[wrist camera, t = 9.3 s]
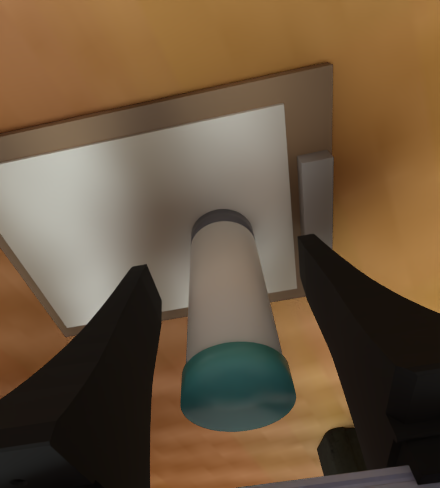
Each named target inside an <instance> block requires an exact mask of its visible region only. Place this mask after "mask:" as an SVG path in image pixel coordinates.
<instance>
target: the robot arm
mask: <svg viewBox="0 0 440 488" xmlns="http://www.w3.org/2000/svg"><path fill="white" fill-rule="evenodd" d="M297 238H298V254H299V270H300V278H301V282H302V285H303V288H304V292H305V295H306V298H307V301H308V303H309V305H310V307H311V310H312V312H313V314H314V316H315V319H316V321H317V323H318V325H319V328H320V330H321V332H322V334H323V336H324V339H325V341H326V343H327V345H328V348H329V350H330V353H331V355H332V358H333V361H334V364H335V367H336V370H337V373H338V376H339V379H340V382H341V385H342V388H343V391H344V394H345V398H346V401H347V404H348V407H349V410H350V414H351V417H352V420H353V424H354V427H355V430H356V433H357V437H358V440H359V444H360V447H361V451H362V454H363V458H364V461H365V464H366V468H367V471H360V472H352V473H345V474H337V475H329V476H322V477H314V478H307V479H299V480H291V481H284V482H276V483H268V484H261V485H253V486H246V487H238V488H440V313H437V312H435V311H432V310H430V309H428V308H425V307H423V306H421V305H419V304H417V303H415V302H413V301H411V300H408V299H406V298H404V297H402V296H400V295H398V294H397V293H395V292H393V291H391V290H389V289H388V288H386V287H384V286H382V285H381V284H379V283H377V282H376V281H374V280H372V279H371V278H369V277H368V276H366V275H365V274H364V273H362V272H361V271H359V270H358V269H356V268H355V267H354V266H352V265H351V264H350V263H348V262H347V261H346V260H345V259H343V258H342V257H341V256H339V255H338V254H337V253H336V252H335V251H333V250H332V249H331V248H330V247H329V246H328V245H326V244H325V243H324V242H323V241H322V240H321V239H320V238H319V237H317V236H316V235H315V234H308V235H303V236H297ZM161 320H162V300H161V297H160V295H159V292H158V290H157V288H156V285H155V283H154V280H153V278H152V276H151V273H150V271H149V268H148V266H147V264H144V265H138V266H133V267H131V268H130V270H129V271H128V272H127V274H126V275H125V276H124V278H123V279H122V280H121V282H120V283H119V285H118V286H117V287H116V289H115V290H114V291H113V293H112V294H111V295H110V297H109V298H108V299H107V301H106V302H105V303H104V304H103V306H102V307H101V308H100V309H99V310H98V312H97V313H96V314H95V315H94V316H93V318H92V319H91V320H90V321H89V322H88V324H87V325H86V326H85V327H84V328H83V329H82V330H81V331H80V332H79V333H78V334H77V335H76V336H75V337H74V338H73V339H72V341H71V342H70V343H69V344H68V345H67V346H65V347H64V348H63V349H62V350H61V351H60V352H59V353H58V354H57V355H56V356H54V357H53V358H52V359H51V360H50V361H49V362H48V363H47V364H45V365H44V366H43V367H42V368H41V369H40V370H38V371H37V372H36V373H35V374H34V375H32V376H31V377H30V378H29V379H27V380H26V381H25V382H23V383H22V384H21V385H19V386H18V387H17V388H15V389H14V390H13V391H11V392H10V393H9V394H7V395H6V396H4V397H3V398H2V399H0V488H150V422H151V398H152V383H153V374H154V368H155V362H156V355H157V349H158V343H159V336H160V330H161Z"/></svg>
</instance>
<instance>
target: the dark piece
mask: <svg viewBox="0 0 440 488" xmlns="http://www.w3.org/2000/svg"><path fill="white" fill-rule="evenodd" d="M317 451H318V455H319V459H320V463H321V466H322V470H323V474H324V476H329V475H337V474H345V473H352V472H360V471H367V468H366V464H365V461H364V458H363V454H362V451H361V447H360V444H359V440H358V437H357V433H356V430H355V428H349V429H344V428H335V429H332V430H330V431H328V432H327V433H326V434H325V436H324V438H323V440H322V442H321V443H320V445H319V447H318V449H317Z"/></svg>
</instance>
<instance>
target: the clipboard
mask: <svg viewBox="0 0 440 488" xmlns="http://www.w3.org/2000/svg"><path fill="white" fill-rule="evenodd" d="M332 104H333V64H331V63H328V62H326V63H322V64H317V65H313V66H308V67H303V68H299V69H294V70H290V71H285V72H281V73H276V74H271V75H267V76H262V77H258V78H253V79H248V80H244V81H239V82H235V83H230V84H226V85H221V86H216V87H212V88H207V89H203V90H198V91H193V92H189V93H184V94H180V95H175V96H171V97H166V98H161V99H157V100H152V101H148V102H143V103H139V104H134V105H129V106H125V107H120V108H116V109H111V110H106V111H102V112H97V113H93V114H88V115H84V116H79V117H74V118H70V119H65V120H61V121H56V122H52V123H47V124H42V125H38V126H33V127H29V128H24V129H19V130H15V131H10V132H6V133H1V134H0V248H1V249H2V251H3V252H4V253H5V255H6V256H7V258H8V259H9V260H10V262H11V263H12V264H13V266H14V267H15V269H16V270H17V271H18V273H19V274H20V275H21V277H22V278H23V279H24V281H25V282H26V284H27V285H28V286H29V288H30V289H31V290H32V292H33V293H34V295H35V296H36V297H37V299H38V300H39V301H40V303H41V304H42V306H43V307H44V308H45V310H46V311H47V312H48V314H49V315H50V316H51V318H52V319H53V321H54V322H55V323H56V325H57V326H58V327H59V329H60V330H61V332H62V333H63V334H64V336H65V337H69V336H75V335H77V334H78V333H79V332H80V331H81V330H82V329H83V328H84V327H85V326H86V325H87V324H88V322H89V321H90V320H91V319H92V318H93V316H94V315H95V314H96V313H97V312H98V310H99V309H100V308H101V307H102V306H103V304H104V303H105V302H106V301H107V299H108V298H109V297H110V295H111V294H112V293H113V291H114V290H115V289H116V287H117V286H118V285H119V283H120V282H121V280H122V279H123V278H124V276H125V275H126V274H127V272H128V271H129V270H130V268H131V267H133V266H138V265H144V264H147V266H148V268H149V271H150V273H151V276H152V278H153V280H154V283H155V285H156V288H157V290H158V292H159V295H160V297H161V300H162V320H161V321H163V320H169V319H175V318H181V317H187V316H188V305H189V280H190V255H191V233H192V228H193V226H194V224H195V222H196V221H197V220H198V219H199V218H200V217H201V216H202V215H204V214H206V213H207V212H210V211H213V210H217V209H229V210H234V211H236V212H239V213H240V214H242V215H243V216H245V217H246V218H247V219H248V221H249V222H250V224H251V226H252V230H253V234H254V238H255V242H256V246H257V250H258V255H259V259H260V263H261V267H262V271H263V276H264V280H265V284H266V288H267V292H268V297H269V301H270V302H275V301H281V300H287V299H293V298H299V297H305V296H306V295H305V292H304V288H303V285H302V282H301V278H300V270H299V254H298V238H297V236H303V235H308V234H315V235H316V236H317V237H319V238H320V239H321V240H322V241H323V242H324V243H325V244H326V245H328V246H329V247H330V248H331V249H332V233H333V166H334V157H333V156H332Z"/></svg>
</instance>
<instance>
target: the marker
mask: <svg viewBox="0 0 440 488" xmlns="http://www.w3.org/2000/svg"><path fill="white" fill-rule="evenodd" d="M295 401H296V393H295V389H294V385H293V381H292V377H291V373H290V369H289V365H288V362H287V360H286V359H285V357H284V356H283V355H282V351H281V347H280V343H279V338H278V334H277V330H276V326H275V322H274V318H273V313H272V309H271V305H270V301H269V297H268V292H267V288H266V284H265V280H264V276H263V271H262V267H261V263H260V259H259V255H258V250H257V246H256V242H255V238H254V234H253V230H252V226H251V224H250V222H249V221H248V219H247V218H246V217H245V216H243V215H242V214H240V213H239V212H236V211H234V210H229V209H217V210H213V211H210V212H207V213H206V214H204V215H202V216H201V217H200V218H199V219H198V220H197V221H196V222H195V224H194V226H193V228H192V233H191V255H190V280H189V305H188V329H187V354H186V365H185V367H184V369H183V372H182V385H181V410H182V412H183V414H184V415H185V417H186V418H187V419H188V420H190V421H191V422H193V423H194V424H196V425H198V426H201V427H203V428H207V429H211V430H216V431H226V432H237V431H247V430H253V429H257V428H261V427H264V426H267V425H270V424H272V423H274V422H276V421H278V420H280V419H281V418H283V417H284V416H285V415H286V414H288V413H289V411H290V410H291V409H292V408H293V406H294V404H295Z"/></svg>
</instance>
